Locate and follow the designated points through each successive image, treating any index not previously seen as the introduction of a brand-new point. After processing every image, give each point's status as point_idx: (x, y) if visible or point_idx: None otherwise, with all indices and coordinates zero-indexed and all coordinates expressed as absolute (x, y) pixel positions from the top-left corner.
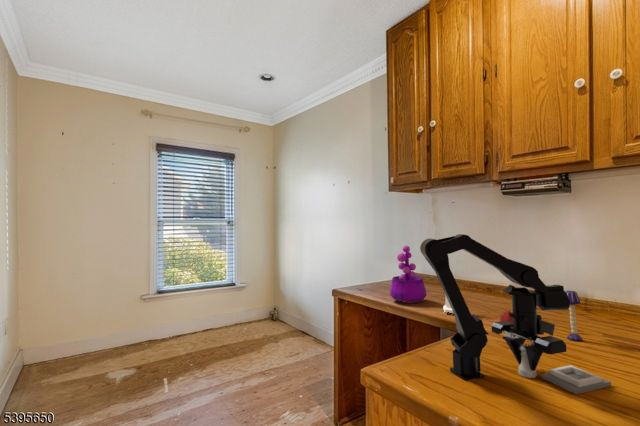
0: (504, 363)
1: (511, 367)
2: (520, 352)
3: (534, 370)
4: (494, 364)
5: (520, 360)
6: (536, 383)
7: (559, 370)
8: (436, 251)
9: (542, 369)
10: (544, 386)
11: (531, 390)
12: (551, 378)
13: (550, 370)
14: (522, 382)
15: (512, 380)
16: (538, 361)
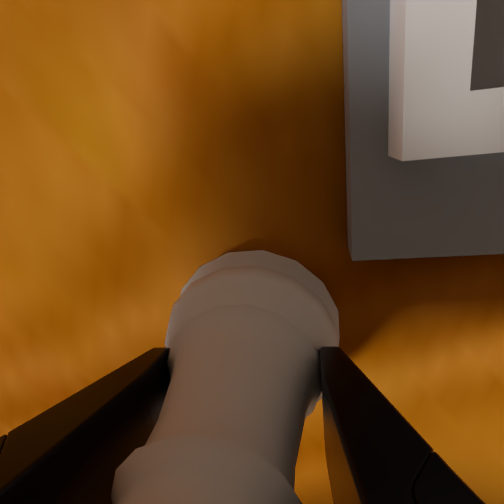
0: (17, 322)
1: (98, 328)
2: (86, 493)
3: (329, 345)
4: (35, 404)
5: (158, 414)
6: (419, 377)
7: (469, 19)
8: None
9: (180, 59)
10: (493, 362)
11: (492, 494)
12: (487, 250)
13: (403, 159)
14: None
15: (309, 486)
16: (406, 425)
